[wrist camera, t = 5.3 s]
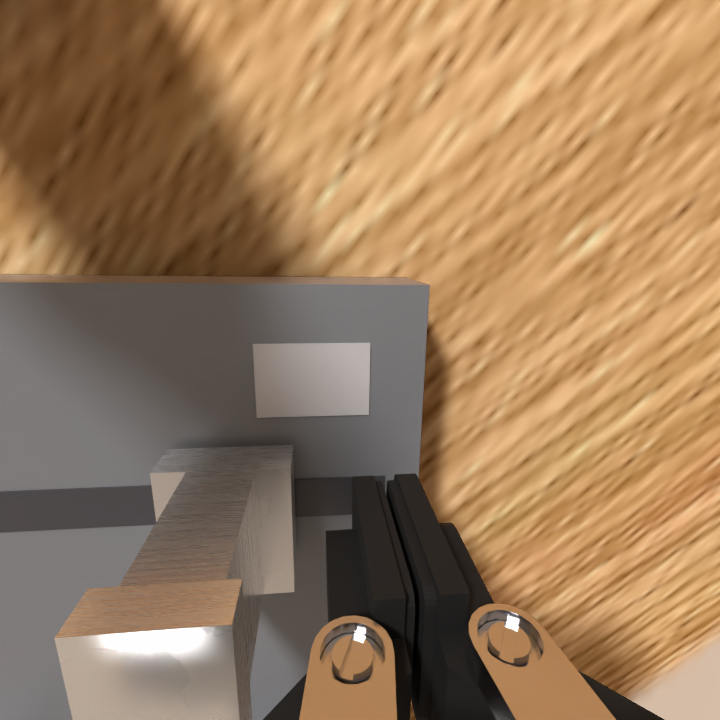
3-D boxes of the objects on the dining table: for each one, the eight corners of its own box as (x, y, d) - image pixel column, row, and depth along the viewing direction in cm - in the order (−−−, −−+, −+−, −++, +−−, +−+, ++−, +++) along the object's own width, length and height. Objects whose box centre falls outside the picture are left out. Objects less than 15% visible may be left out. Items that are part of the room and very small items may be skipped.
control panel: (405, 277, 13) (463, 295, 8) (383, 790, 20) (408, 990, 14) (-307, 271, 11) (-851, 290, 6) (-80, 846, 18) (-251, 1104, 12)
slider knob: (293, 438, 11) (270, 620, 6) (296, 564, 12) (280, 822, 7) (167, 442, 11) (11, 641, 5) (182, 571, 12) (65, 851, 6)
